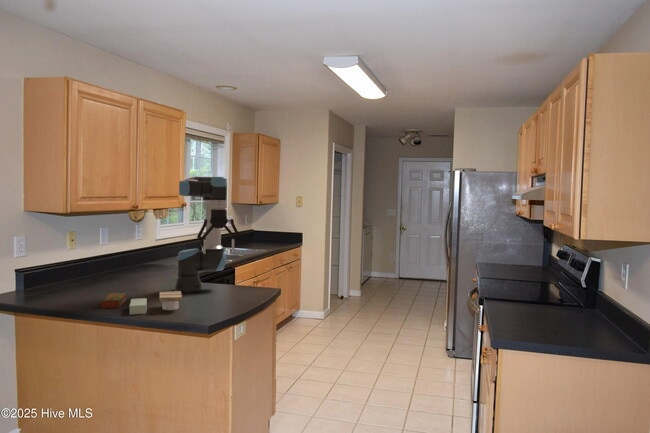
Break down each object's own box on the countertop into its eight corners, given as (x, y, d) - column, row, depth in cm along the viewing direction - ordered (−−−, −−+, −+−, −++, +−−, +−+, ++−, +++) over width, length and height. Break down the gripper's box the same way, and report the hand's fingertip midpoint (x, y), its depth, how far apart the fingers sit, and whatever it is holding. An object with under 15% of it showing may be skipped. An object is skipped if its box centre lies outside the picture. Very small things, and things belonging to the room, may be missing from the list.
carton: (126, 301, 254) (126, 292, 254) (119, 308, 239) (119, 299, 239) (108, 301, 253) (108, 293, 253) (101, 308, 237) (101, 300, 237)
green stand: (131, 307, 240) (131, 298, 240) (146, 306, 242) (146, 298, 242) (129, 314, 226) (129, 305, 225) (145, 313, 228) (145, 305, 228)
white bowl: (162, 307, 241) (162, 296, 241) (178, 306, 243) (178, 296, 243) (162, 310, 234) (162, 300, 233) (179, 309, 236) (179, 299, 236)
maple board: (159, 295, 244) (159, 291, 244) (180, 294, 247) (180, 290, 247) (159, 302, 229) (159, 298, 229) (182, 300, 233) (181, 297, 233)
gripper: (192, 209, 229) (192, 254, 231) (246, 209, 238) (245, 253, 239) (191, 208, 236) (191, 252, 238) (243, 208, 245) (243, 251, 246)
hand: (218, 253), depth 238 cm, fingers open, 13 cm apart
